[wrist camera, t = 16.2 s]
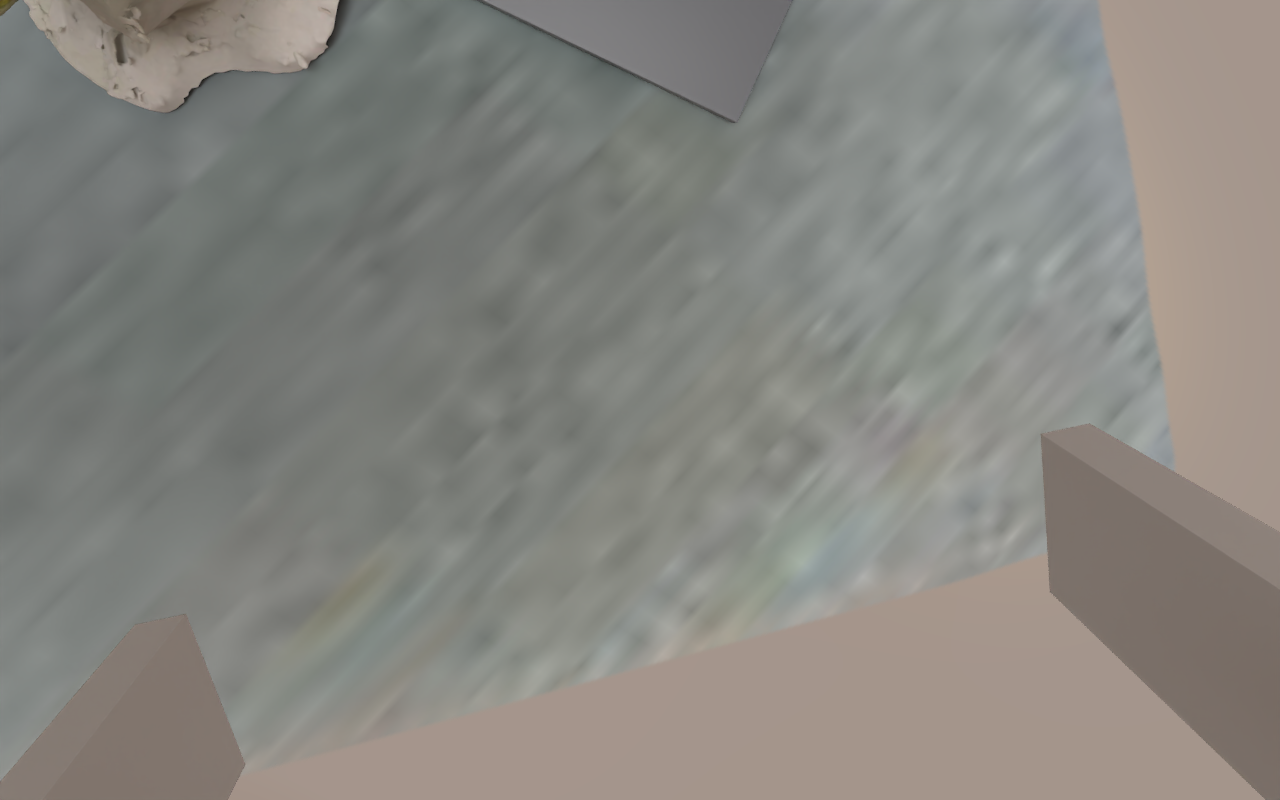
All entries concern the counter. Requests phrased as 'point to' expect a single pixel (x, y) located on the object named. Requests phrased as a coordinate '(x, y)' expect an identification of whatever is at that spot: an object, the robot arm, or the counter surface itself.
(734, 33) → the socket base
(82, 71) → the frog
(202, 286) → the counter surface
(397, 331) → the counter surface
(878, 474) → the counter surface
